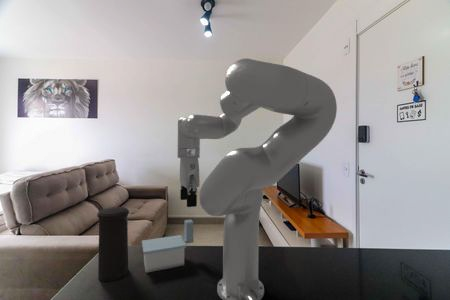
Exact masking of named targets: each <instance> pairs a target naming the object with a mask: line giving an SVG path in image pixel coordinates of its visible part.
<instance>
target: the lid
mask: <svg viewBox="0 0 450 300" xmlns="http://www.w3.org/2000/svg"><path fill="white" fill-rule="evenodd" d="M183 223H184V227H183V228H184V234H183V235H184V237H182V235H181V234H179V235H172V236H170V235H169V236H164V237H158V238H157V237H156V238H152V239H151V238H150V239H143V240H141V246H142V252H143V256H144V255H145V254H151V253H157V252H163V251H169V250H175V249H181V248H184V249H186V248H187V247H188V246H187V244H192V243H194V221H193V220H192V219H184V222H183Z"/></svg>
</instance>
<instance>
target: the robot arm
mask: <svg viewBox="0 0 450 300" xmlns="http://www.w3.org/2000/svg"><path fill="white" fill-rule="evenodd" d="M224 83H225V88H226V91H224V92H223V93H222V95H221V96H220V98H219V104H220V108H221V111H222V114H221V115H219V116H214V115H208V114H207V115H206V114H205V115H204V114H203V115H202V114H191V115H189V116H183V117H180V118H178V121H177V158H178V159H179V183H180V190H179V191H180V194H179V195H180V197H179V199H180V201H186V207H187V208H193V207H194V208H195V207H197V205H198V202H197V201H198V192H197V191H198V189H197V188H199V187H200V190H199V204H200V206H201V209H202V210H203V211H204V212H205V213H206V214H207V215H209V216H212V217H223V216H224V221H223V229H222V230H223V233H222V244H223V245H222V278H221V279H220V280H219V281H218V283H217V288H216V290H217V294H218V296H219V298H220V299H222V300H262V298H263V297H264V295H265V288H264V284H263V282H262V281H261V280H259V246H260V245H259V244H260V243H259V242H260V241H259V240H260V239H259V235H260V213H261V208H262V204H263V197H264V194H263V193H264V192H263V191H264V190H263V189H264V188H268V187H271V186H274V185H275V184H277V183H278V182H280V180H281V179H283V177H284V176H286V174H288V172H290V171H291V170H292V169H293V168H295V166H296V165H297V164H299V163H300V162H301V160H303V159H304V158H305V157H307V155H308V154H309V153H310V152H312V151H313V149H315V148H316V147H318V145H319V144H320V143H321V142H323V140H324V139H325V138H326V136H328V135H329V133H330V131H331V130H332V128H333V125H334V123H335V120H336V117H337V113H338V112H337V109H338V105H337V100H336V99H337V98H336V96H335V94H334V91H333V90H332V88H331V87H330V86H329V85H328V83H326V82H325V81H323V80H322V79H320V78H319V77H316V76H314V75H312V74H309V73H307V72H304V71H302V70H299V69H297V68H294V67H290V66H287V65H283V64H278V63H272V62H266V61H261V60H256V59H251V58H241V59H238V60H237V61H235V62H233V63H232V65H230V66H229V68H228V70H227V72H226V75H225V79H224ZM260 108H261V109H264V110H267V111H270V112H274V113H278V114H283V115H290V116H292V118H291V119H289V120H288V121H286V122H285V123H283V124H282V125H280V126H279V127H278V128H276V129H275V131H274V132H273V133H272V134H271V135H270V136H269V137H268V138H267V139H266V141H264V142H263V143H262V144H261V145H259V146H256V147H238V148H236V149H233V150H231V151H230V152H228V153H226V155H225V156H223V157H222V159H221V160H219V162H218V164H217V165H216V166H215V167H214V168H213V170H212V171H211V172H210V174H209V175H208V176H207V177H206V178H205V180H204V181H203V183H202V185H201V186H200V184H201V183H200V182H201V181H200V163H199V162H200V161H199V158H200V155H201V154H200V153H201V148H200V147H201V140H220V139H223V138H226V137H227V136H229V135H231V134H232V133H234V132H236V131H237V130H238V128H239V127H240V125H241V123H242V120H243V118H245V117H247V116H248V115H250V114H252V113H253V112H255V111H257V110H258V109H260Z"/></svg>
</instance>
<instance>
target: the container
mask: <svg viewBox="0 0 450 300" xmlns="http://www.w3.org/2000/svg"><path fill="white" fill-rule="evenodd" d="M129 213H130V210H129V209H128V208H126V207H125V206H124V207H123V206H113V207H107V208H103V209H101V210H99V211H98V213H97V214H96V216H97V218H98V264H97V265H98V270H97V271H98V272H97V273H98V274H97V276H98V280H100V281H102V282H112V281H116V280H119V279H122V278H123V277H124V276H126V275H127V274H128V271H129V246H128V245H129V241H128V240H129V239H128V238H129V237H128V236H129V234H128V233H129V232H128V227H129V226H128V220H129V219H128V217H129Z"/></svg>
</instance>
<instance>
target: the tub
mask: <svg viewBox="0 0 450 300" xmlns="http://www.w3.org/2000/svg"><path fill="white" fill-rule="evenodd" d="M143 263H144V265H143V266H144V270H145V271H144V272H145V273H151V272H156V271H161V270H162V271H163V270H167V269H173V268H176V267H181V266H185V248H181V249H175V250H169V251H163V252H157V253H151V254H145V255H144V254H143Z"/></svg>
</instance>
